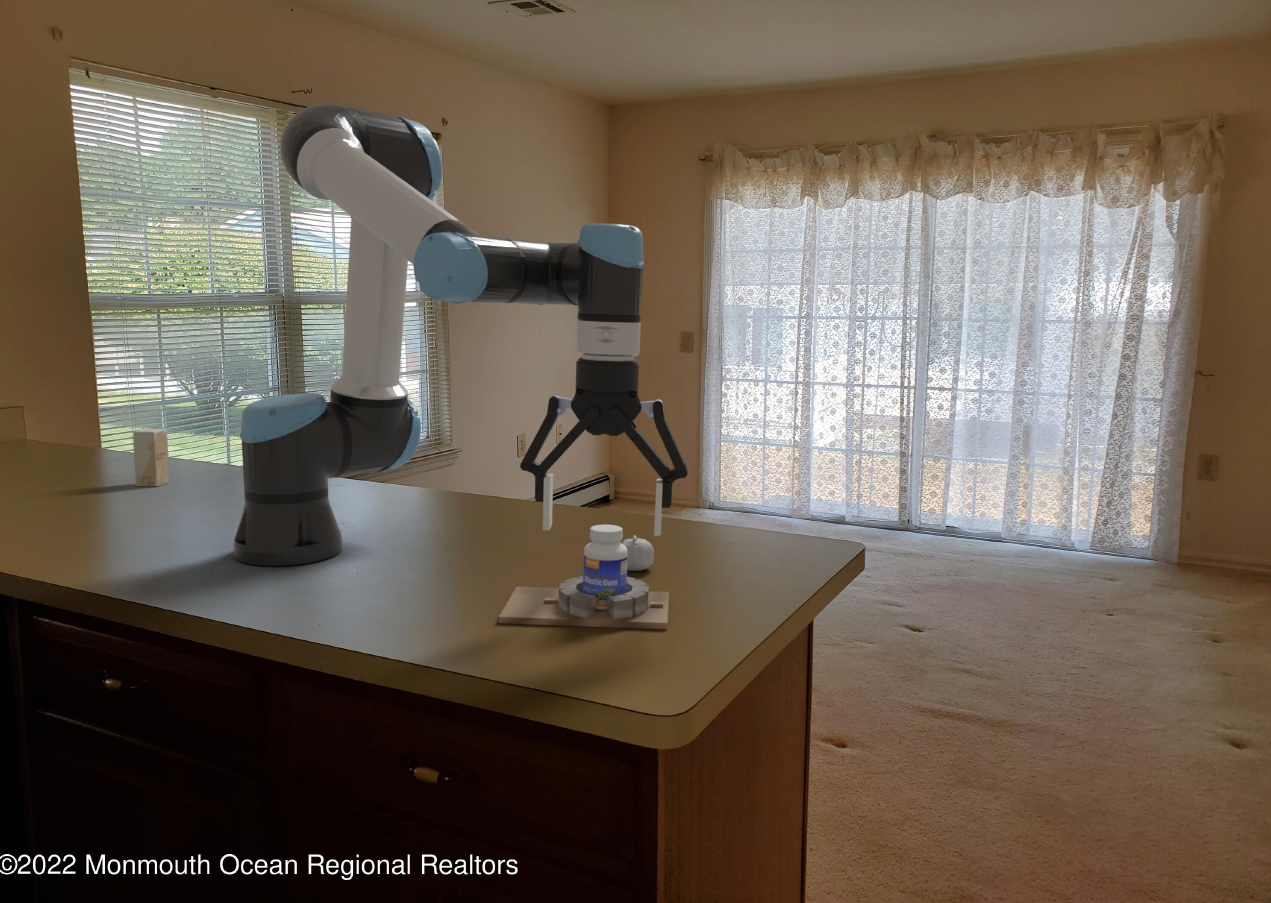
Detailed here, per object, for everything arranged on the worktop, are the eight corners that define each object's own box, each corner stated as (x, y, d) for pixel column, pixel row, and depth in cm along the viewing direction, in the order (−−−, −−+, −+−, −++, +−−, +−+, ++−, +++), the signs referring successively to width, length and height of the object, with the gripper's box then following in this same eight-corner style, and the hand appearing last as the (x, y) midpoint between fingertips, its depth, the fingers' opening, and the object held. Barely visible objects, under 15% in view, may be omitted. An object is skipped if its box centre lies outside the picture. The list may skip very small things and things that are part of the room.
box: (156, 487, 184) (153, 432, 182) (134, 486, 184) (131, 431, 182) (170, 482, 189) (166, 428, 187) (149, 481, 189) (145, 428, 187)
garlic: (640, 577, 129) (641, 541, 129) (608, 570, 132) (609, 535, 131) (662, 567, 134) (663, 532, 134) (631, 561, 137) (631, 527, 136)
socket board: (498, 622, 109) (498, 598, 109) (516, 592, 121) (516, 570, 121) (667, 629, 108) (667, 604, 108) (668, 597, 120) (669, 575, 120)
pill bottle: (577, 609, 112) (578, 531, 111) (588, 595, 118) (589, 521, 116) (621, 612, 111) (623, 534, 110) (630, 599, 117) (631, 524, 115)
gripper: (497, 355, 107) (495, 532, 110) (713, 364, 106) (704, 543, 109) (510, 351, 114) (507, 518, 118) (711, 359, 113) (703, 527, 117)
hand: (602, 530), depth 113 cm, fingers open, 13 cm apart
